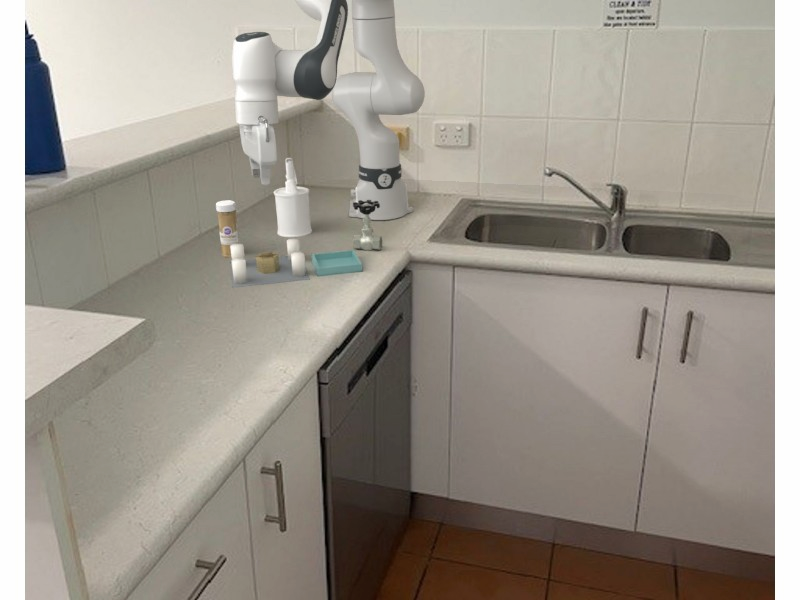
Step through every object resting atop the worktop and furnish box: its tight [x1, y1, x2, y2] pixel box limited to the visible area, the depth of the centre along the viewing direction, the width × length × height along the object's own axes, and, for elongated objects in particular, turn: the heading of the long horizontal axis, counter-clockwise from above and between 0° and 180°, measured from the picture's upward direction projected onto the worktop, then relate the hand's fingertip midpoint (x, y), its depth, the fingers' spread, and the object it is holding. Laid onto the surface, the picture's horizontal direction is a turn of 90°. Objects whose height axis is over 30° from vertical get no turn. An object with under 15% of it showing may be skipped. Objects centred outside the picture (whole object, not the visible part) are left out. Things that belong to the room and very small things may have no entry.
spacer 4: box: [291, 251, 307, 277], centre depth 162 cm, size 3×3×5 cm
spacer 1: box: [230, 243, 246, 261], centre depth 168 cm, size 3×3×5 cm
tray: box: [311, 249, 363, 277], centre depth 168 cm, size 10×10×2 cm
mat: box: [229, 255, 311, 289], centre depth 166 cm, size 17×17×1 cm
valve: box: [352, 200, 383, 252], centre depth 177 cm, size 7×7×12 cm
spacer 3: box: [286, 237, 301, 262], centre depth 171 cm, size 3×3×5 cm
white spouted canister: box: [273, 157, 313, 238], centre depth 189 cm, size 10×9×20 cm
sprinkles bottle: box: [215, 199, 240, 258], centre depth 175 cm, size 5×5×13 cm
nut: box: [255, 251, 280, 274], centre depth 166 cm, size 4×5×4 cm
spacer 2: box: [231, 258, 248, 284], centre depth 159 cm, size 3×3×5 cm
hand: (260, 180), depth 155 cm, fingers open, 8 cm apart
